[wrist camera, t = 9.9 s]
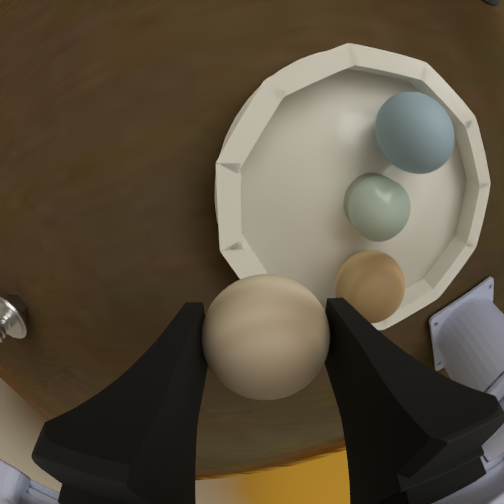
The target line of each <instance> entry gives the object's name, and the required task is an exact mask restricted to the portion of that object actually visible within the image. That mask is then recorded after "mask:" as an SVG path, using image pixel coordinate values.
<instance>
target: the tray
mask: <svg viewBox="0 0 504 504" xmlns="http://www.w3.org/2000/svg"><path fill="white" fill-rule="evenodd" d="M402 92H419V93H422V94H425V95H428V96H430V97H431V98H433V99H434V100H436V101H437V102H438V103H439V104H440V105H441V106H442V107H443V108H444V109H445V110H446V112H447V113H448V115H449V117H450V119H451V121H452V124H453V128H454V134H455V141H454V147H453V151H452V153H451V155H450V157H449V159H448V160H447V162H446V163H445V164H444V165H443V166H442V167H440V168H439V169H437V170H435V171H433V172H430V173H426V174H413V173H409V172H406V171H403V170H401V169H399V168H398V167H396V166H395V165H393V164H392V163H391V162H390V161H389V160H388V159H387V158H386V157H385V155H384V154H383V152H382V151H381V149H380V147H379V145H378V142H377V138H376V133H375V123H376V118H377V114H378V112H379V110H380V108H381V106H382V105H383V104H384V103H385V102H386V101H387V100H388V99H389V98H390V97H392V96H394V95H396V94H398V93H402ZM490 185H491V184H490V177H489V171H488V166H487V161H486V156H485V151H484V147H483V143H482V139H481V135H480V131H479V127H478V124H477V120H476V117H475V116H474V114H473V113H472V112H471V111H470V109H469V108H468V107H467V106H466V104H465V103H464V102H463V101H462V100H461V98H460V97H459V96H458V95H457V94H456V93H455V92H454V90H453V89H452V88H451V87H450V86H449V85H448V84H447V83H446V82H445V81H444V80H443V79H442V78H441V76H440V75H439V74H438V73H437V72H436V71H435V70H434V69H433V68H432V67H431V66H430V65H429V64H428V63H426V62H424V61H420V60H417V59H414V58H411V57H407V56H404V55H400V54H396V53H392V52H388V51H384V50H380V49H376V48H371V47H366V46H361V45H356V44H350V43H347V44H344V45H342V46H339V47H336V48H334V49H331V50H329V51H324V52H319V53H316V54H313V55H310V56H307V57H305V58H302V59H299V60H297V61H295V62H294V63H292V64H290V65H288V66H286V67H284V68H283V69H281V70H279V71H278V72H277V73H275V74H274V75H273V76H271V77H269V78H267V79H265V80H264V81H263V83H262V85H261V86H260V87H259V88H258V89H257V90H256V91H255V92H254V93H253V94H252V95H251V96H250V97H249V99H248V100H247V101H246V103H245V104H244V105H243V107H242V108H241V110H240V111H239V113H238V114H237V116H236V117H235V119H234V121H233V123H232V125H231V127H230V129H229V131H228V133H227V135H226V137H225V140H224V143H223V146H222V149H221V152H220V156H219V158H218V160H217V161H216V177H215V209H216V217H217V223H218V227H219V244H220V252H221V253H222V255H223V256H224V258H225V259H226V260H227V262H228V263H229V265H230V266H231V267H232V269H233V270H234V272H235V273H236V274H237V276H238V277H239V278H240V279H242V278H245V277H248V276H252V275H258V274H274V275H280V276H284V277H287V278H290V279H292V280H295V281H297V282H298V283H300V284H302V285H303V286H304V287H306V288H307V289H308V290H310V291H311V292H312V293H313V294H314V295H315V297H316V298H317V299H318V300H319V302H320V303H321V305H322V307H323V309H324V311H325V309H326V302H327V298H336V297H335V289H334V286H335V279H336V275H337V273H338V271H339V269H340V267H341V265H342V264H343V263H344V262H345V261H346V260H347V259H348V258H349V257H350V256H352V255H354V254H356V253H358V252H361V251H365V250H377V251H381V252H383V253H386V254H388V255H389V256H391V257H392V258H393V259H394V260H395V261H396V262H397V263H398V264H399V266H400V268H401V269H402V272H403V274H404V278H405V294H404V298H403V300H402V303H401V305H400V306H399V308H398V309H397V310H396V312H395V313H394V314H393V315H391V316H390V317H389V318H387V319H385V320H383V321H381V322H378V323H371V324H372V325H373V326H374V327H375V328H376V329H377V330H384V329H386V328H388V327H390V326H392V325H394V324H396V323H397V322H399V321H401V320H403V319H405V318H406V317H408V316H410V315H411V314H413V313H415V312H417V311H418V310H420V309H422V308H423V307H425V306H427V305H428V304H430V303H431V302H433V301H435V300H436V299H438V298H439V297H440V296H441V294H442V293H443V292H444V291H445V289H446V288H447V287H448V286H449V284H450V283H451V282H452V280H453V279H454V278H455V276H456V275H457V274H458V272H459V271H460V270H461V268H462V267H463V265H464V264H465V263H466V261H467V260H468V258H469V257H470V256H471V254H472V253H473V251H474V250H475V248H476V246H477V242H478V239H479V235H480V231H481V227H482V223H483V219H484V215H485V210H486V206H487V201H488V196H489V190H490Z"/></svg>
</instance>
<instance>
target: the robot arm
mask: <svg viewBox="0 0 504 504" xmlns="http://www.w3.org/2000/svg"><path fill="white" fill-rule="evenodd" d="M493 288H494V279H493V278H492V277H491V276H490V277H488V278H487V279H485V280H484V281H483V282H481V283H480V284H479V285H477V286H476V287H474V288H473V289H472V290H470V291H469V292H467V293H466V294H465V295H463V296H462V297H460V298H459V299H457V300H456V301H454V302H453V303H451V304H450V305H448V306H447V307H445V308H444V309H442V310H440V311H439V312H437V313H436V314H434V315H432V316H431V317H430V319H429V326H430V333H431V340H432V348H433V356H434V366H435V369H436V371H438V370H440V369H442V368H445V370H446V372H447V373H448V375H449V377H450V379H449V378H447V377H445V376H443V375H441V374H440V373H438V372H436V371H434V370H432V369H431V368H429V367H427V366H425V365H424V364H422V363H421V362H419V361H418V360H416V359H415V358H413V357H412V356H410V355H409V354H407V353H406V352H404V351H403V350H402V349H400V348H399V347H398V346H397V345H395V344H394V343H393V342H392V341H390V340H389V339H388V338H387V337H385V336H384V335H383V334H382V333H381V332H380V331H378V330H377V329H376V328H375V327H374V326H373V325H372V324H371V323H370V322H369V321H367V320H366V319H365V318H364V317H363V316H362V315H361V314H360V313H359V312H358V311H357V310H356V309H355V308H354V307H353V306H352V305H351V304H350V303H348V302H347V301H346V300H345V299H344V298H343V297H341V298H327V302H326V309H325V313H326V315H327V319H328V323H329V327H330V345H329V351H328V354H327V357H326V360H325V366H326V369H327V372H328V375H329V379H330V382H331V385H332V388H333V391H334V395H335V398H336V401H337V404H338V408H339V411H340V415H341V419H342V425H343V431H344V437H345V444H346V451H347V459H348V469H349V480H350V504H504V315H503V313H502V312H501V311H500V310H499V309H498V308H497V307H496V306H495V305H494V304H493ZM204 319H205V314H204V307H203V303H185V304H184V305H183V307H182V308H181V310H180V311H179V312H178V314H177V315H176V316H175V318H174V319H173V320H172V321H171V323H170V324H169V325H168V327H167V328H166V329H165V330H164V332H163V333H162V334H161V335H160V336H159V338H158V339H157V340H156V341H155V342H154V344H153V345H152V346H151V347H150V348H149V349H148V350H147V351H146V352H145V353H144V354H143V356H142V357H141V358H140V359H139V360H138V361H137V362H136V363H135V364H134V365H133V366H131V367H130V368H129V369H128V370H127V371H126V372H125V373H124V374H123V375H121V376H120V377H119V378H118V379H117V380H115V381H114V382H113V383H111V384H110V385H109V386H107V387H106V388H105V389H104V390H102V391H101V392H99V393H98V394H97V395H95V396H93V397H92V398H90V399H89V400H87V401H86V402H84V403H82V404H81V405H79V406H77V407H75V408H74V409H72V410H70V411H68V412H66V413H64V414H62V415H60V416H58V417H56V418H53V419H51V420H49V421H47V422H45V424H44V426H43V428H42V430H41V432H40V435H39V437H38V440H37V443H36V445H35V447H34V450H33V453H32V459H33V461H34V462H35V463H36V464H37V465H38V466H39V467H40V468H41V469H43V470H44V471H45V472H47V473H48V474H49V475H51V476H52V477H54V478H55V479H56V480H58V481H59V482H61V483H62V487H61V491H60V493H59V492H57V491H55V490H53V489H50V488H48V487H46V486H44V485H42V484H40V483H37V482H36V481H33V480H31V479H30V478H29V477H28V476H27V475H25V474H24V473H23V472H21V471H19V470H18V469H16V468H15V467H13V466H12V465H10V464H8V463H6V462H5V461H3V460H1V459H0V504H195V459H196V437H197V424H198V416H199V411H200V405H201V400H202V394H203V389H204V384H205V378H206V373H207V367H208V364H207V362H206V359H205V356H204V353H203V348H202V326H203V322H204Z"/></svg>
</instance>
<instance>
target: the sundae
mask: <svg viewBox="0 0 504 504" xmlns="http://www.w3.org/2000/svg"><path fill="white" fill-rule="evenodd" d="M484 1H486V2H487V3H489V4H492V5H497V4H498V3H499V2H500V0H484Z"/></svg>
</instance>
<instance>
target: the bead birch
mask: <svg viewBox="0 0 504 504" xmlns="http://www.w3.org/2000/svg"><path fill="white" fill-rule="evenodd" d="M329 345H330V327H329V323H328V319H327V315H326V313H325V311H324V309H323V307H322V305H321V303H320V302H319V300H318V299H317V298H316V297H315V295H314V294H313V293H312V292H311V291H310V290H308V289H307V288H306V287H304V286H303V285H302V284H300V283H298V282H297V281H295V280H292V279H290V278H287V277H284V276H280V275H274V274H258V275H252V276H248V277H245V278H242V279H240V280H238V281H236V282H234V283H232V284H231V285H229V286H228V287H227V288H225V289H224V290H223V291H222V292H221V293H220V294H219V295H218V296H217V297H216V298H215V299H214V301H213V302H212V304H211V305H210V307H209V309H208V311H207V313H206V315H205V319H204V322H203V326H202V348H203V353H204V356H205V359H206V362H207V364H208V366H209V368H210V369H211V371H212V373H213V374H214V375H215V377H216V378H217V379H218V380H219V381H220V382H221V383H222V384H223V385H224V386H226V387H227V388H228V389H230V390H231V391H233V392H235V393H237V394H239V395H242V396H244V397H247V398H251V399H257V400H273V399H279V398H284V397H287V396H290V395H292V394H294V393H296V392H298V391H299V390H301V389H302V388H304V387H305V386H307V385H308V384H309V383H310V382H311V381H312V380H313V379H314V378H315V377H316V376H317V374H318V373H319V372H320V370H321V368H322V366H323V365H324V363H325V360H326V357H327V354H328V351H329Z"/></svg>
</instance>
